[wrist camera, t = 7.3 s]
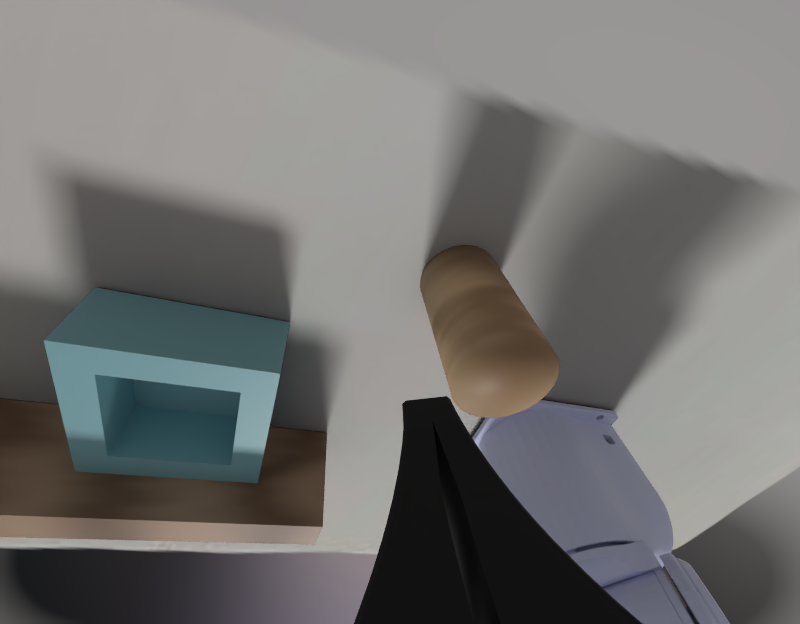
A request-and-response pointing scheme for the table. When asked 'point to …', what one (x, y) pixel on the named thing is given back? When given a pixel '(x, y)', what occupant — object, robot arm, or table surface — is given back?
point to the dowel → (485, 335)
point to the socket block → (165, 387)
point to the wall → (153, 491)
